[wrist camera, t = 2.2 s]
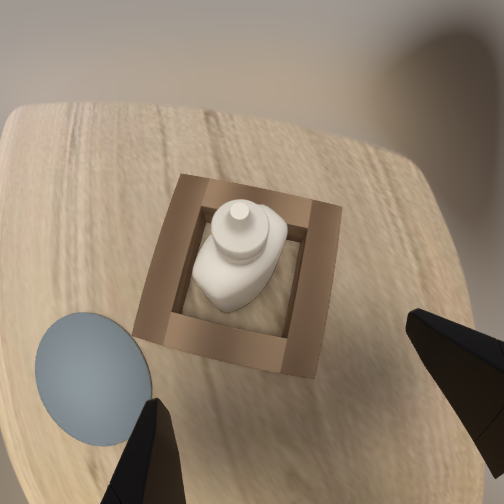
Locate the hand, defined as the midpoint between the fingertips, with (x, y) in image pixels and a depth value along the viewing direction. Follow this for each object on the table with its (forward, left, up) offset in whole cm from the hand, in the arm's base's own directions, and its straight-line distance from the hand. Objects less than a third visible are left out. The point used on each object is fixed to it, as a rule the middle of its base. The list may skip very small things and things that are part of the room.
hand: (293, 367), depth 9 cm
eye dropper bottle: (+3, -5, -12) cm, 14 cm away
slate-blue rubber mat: (+13, +6, -12) cm, 19 cm away
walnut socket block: (+3, -5, -12) cm, 14 cm away
